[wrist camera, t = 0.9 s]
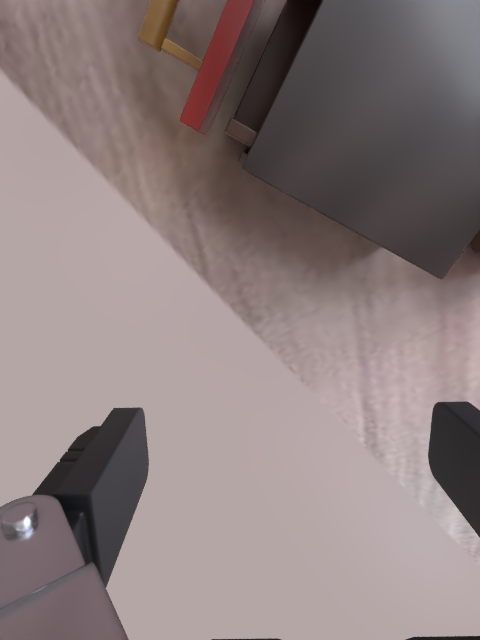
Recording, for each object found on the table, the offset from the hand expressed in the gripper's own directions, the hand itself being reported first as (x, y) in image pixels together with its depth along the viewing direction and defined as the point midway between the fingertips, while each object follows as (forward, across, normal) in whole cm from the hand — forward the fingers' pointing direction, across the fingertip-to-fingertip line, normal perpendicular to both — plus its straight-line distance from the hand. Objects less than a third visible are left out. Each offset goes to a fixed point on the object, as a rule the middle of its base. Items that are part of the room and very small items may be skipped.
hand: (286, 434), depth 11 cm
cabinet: (+23, -8, -13) cm, 27 cm away
